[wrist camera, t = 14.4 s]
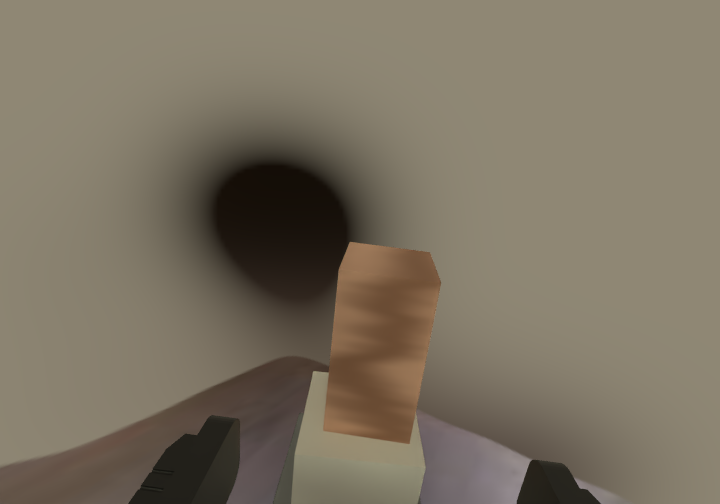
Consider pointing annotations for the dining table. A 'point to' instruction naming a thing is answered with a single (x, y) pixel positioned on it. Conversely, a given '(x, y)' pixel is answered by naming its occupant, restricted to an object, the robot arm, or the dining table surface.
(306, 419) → the tower top
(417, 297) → the wooden block
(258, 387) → the dining table surface
